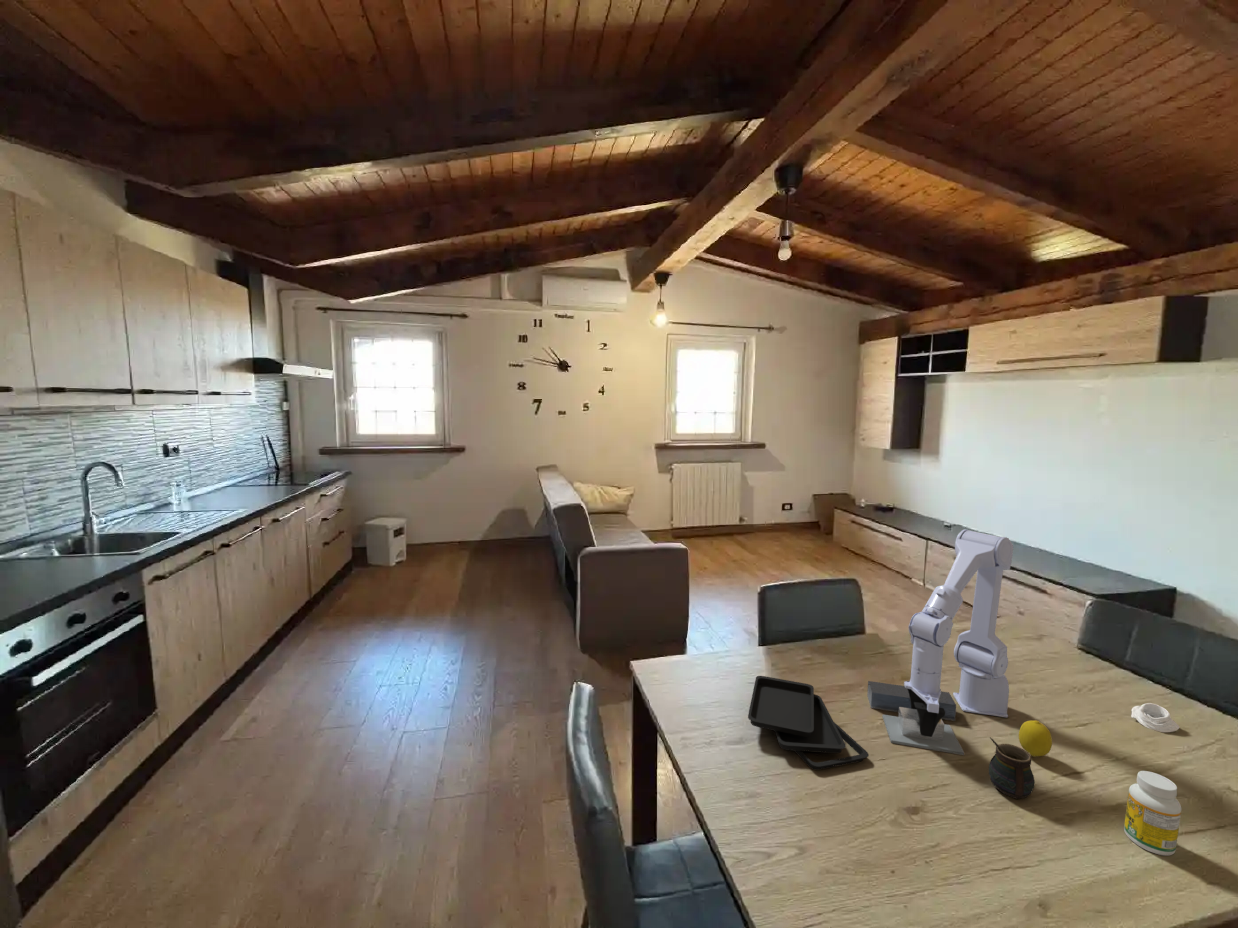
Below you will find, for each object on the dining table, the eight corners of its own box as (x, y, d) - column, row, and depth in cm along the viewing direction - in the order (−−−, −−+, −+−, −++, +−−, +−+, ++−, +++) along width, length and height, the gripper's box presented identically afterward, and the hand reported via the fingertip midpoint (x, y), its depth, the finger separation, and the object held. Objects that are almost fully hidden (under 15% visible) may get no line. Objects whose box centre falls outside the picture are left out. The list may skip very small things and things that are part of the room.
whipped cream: (1176, 729, 124) (1180, 709, 123) (1179, 740, 119) (1184, 719, 118) (1129, 712, 129) (1133, 694, 129) (1130, 722, 124) (1134, 703, 124)
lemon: (1043, 750, 114) (1047, 716, 113) (1054, 767, 109) (1058, 731, 108) (1012, 745, 116) (1016, 710, 115) (1022, 761, 111) (1026, 725, 110)
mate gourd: (1041, 806, 98) (1047, 757, 97) (996, 800, 100) (1001, 751, 99) (1021, 780, 105) (1026, 733, 104) (978, 774, 107) (983, 728, 106)
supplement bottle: (1177, 863, 86) (1187, 800, 85) (1124, 842, 90) (1133, 781, 89) (1172, 839, 91) (1181, 778, 90) (1121, 820, 95) (1129, 762, 94)
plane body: (947, 707, 130) (948, 692, 129) (954, 720, 125) (956, 704, 124) (867, 695, 135) (868, 680, 134) (870, 707, 130) (872, 692, 129)
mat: (949, 727, 122) (949, 724, 122) (963, 755, 113) (964, 752, 112) (882, 716, 126) (882, 714, 126) (890, 742, 116) (891, 740, 116)
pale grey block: (936, 729, 120) (938, 710, 120) (942, 741, 116) (944, 721, 115) (897, 722, 123) (899, 704, 122) (902, 734, 118) (903, 715, 118)
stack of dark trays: (886, 756, 112) (888, 733, 112) (802, 790, 102) (803, 765, 102) (786, 686, 139) (787, 668, 139) (712, 708, 129) (712, 687, 129)
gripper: (899, 650, 125) (895, 704, 127) (914, 681, 112) (909, 741, 113) (932, 654, 123) (928, 709, 125) (952, 686, 110) (946, 747, 111)
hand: (921, 724), depth 119 cm, fingers open, 7 cm apart
